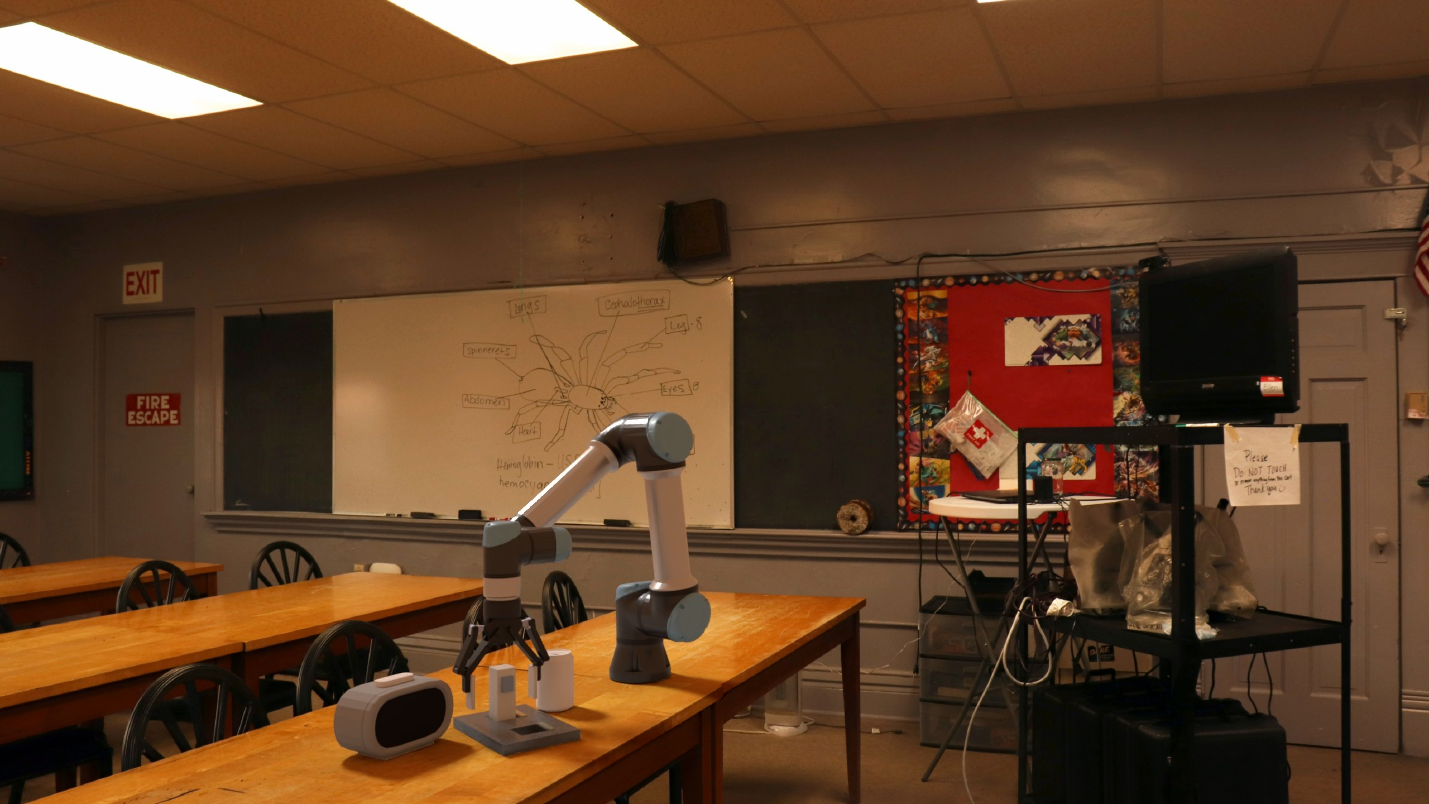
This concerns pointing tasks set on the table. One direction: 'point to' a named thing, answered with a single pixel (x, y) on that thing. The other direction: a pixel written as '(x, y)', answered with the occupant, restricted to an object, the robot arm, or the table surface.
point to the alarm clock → (393, 715)
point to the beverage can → (556, 682)
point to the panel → (517, 730)
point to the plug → (502, 692)
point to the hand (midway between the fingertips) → (502, 703)
